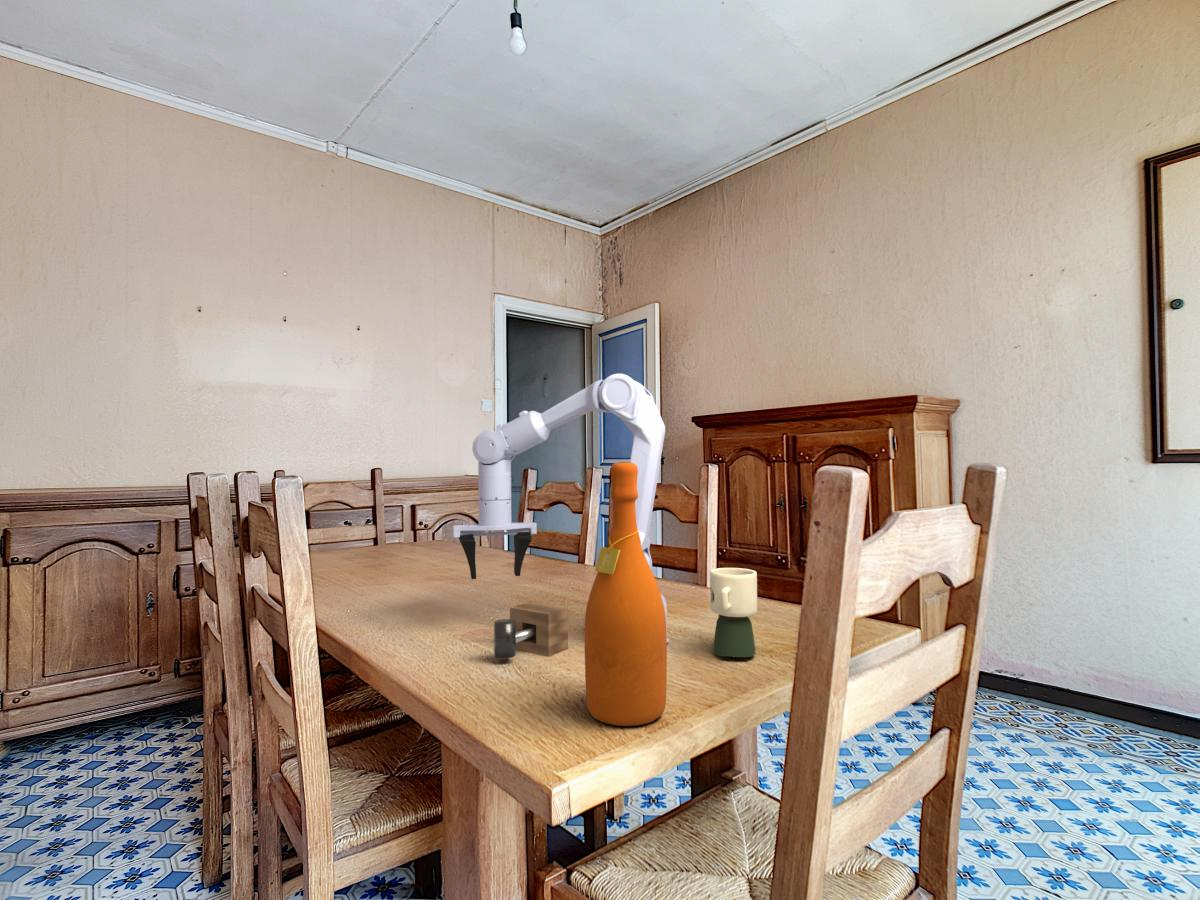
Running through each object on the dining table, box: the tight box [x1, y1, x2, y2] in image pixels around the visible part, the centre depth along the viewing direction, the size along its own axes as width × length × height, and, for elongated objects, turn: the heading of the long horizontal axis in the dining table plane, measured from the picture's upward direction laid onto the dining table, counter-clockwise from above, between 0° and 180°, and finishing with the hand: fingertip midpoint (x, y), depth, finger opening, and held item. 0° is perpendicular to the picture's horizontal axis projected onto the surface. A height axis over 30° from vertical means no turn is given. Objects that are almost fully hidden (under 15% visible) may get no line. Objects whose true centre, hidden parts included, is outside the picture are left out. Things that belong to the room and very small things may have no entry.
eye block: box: [509, 601, 569, 657], centre depth 98 cm, size 5×8×6 cm, turn 56°
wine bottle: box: [584, 461, 668, 727], centre depth 73 cm, size 10×10×30 cm
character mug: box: [709, 567, 758, 660], centre depth 93 cm, size 11×7×13 cm, turn 152°
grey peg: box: [493, 618, 536, 660], centre depth 96 cm, size 13×3×5 cm, turn 146°
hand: (495, 576), depth 107 cm, fingers open, 7 cm apart
